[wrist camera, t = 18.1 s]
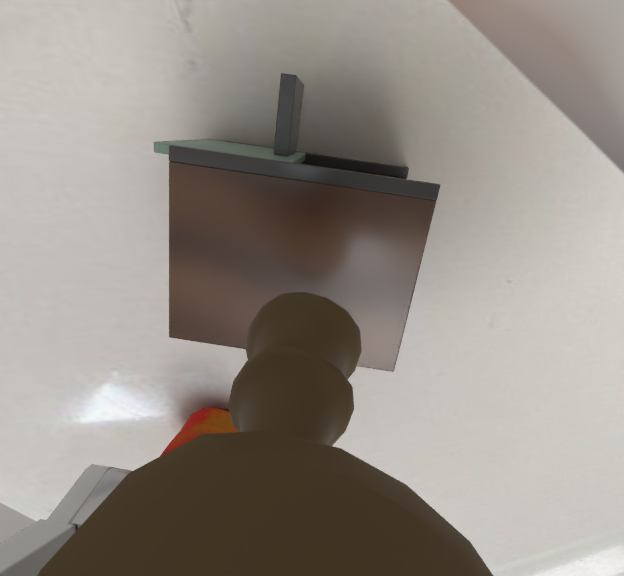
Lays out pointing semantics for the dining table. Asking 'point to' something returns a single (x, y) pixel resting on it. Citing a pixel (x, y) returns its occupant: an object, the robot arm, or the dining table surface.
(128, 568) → the kendama
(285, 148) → the door
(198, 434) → the apple
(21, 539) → the robot arm
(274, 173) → the cabinet
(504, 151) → the dining table surface
